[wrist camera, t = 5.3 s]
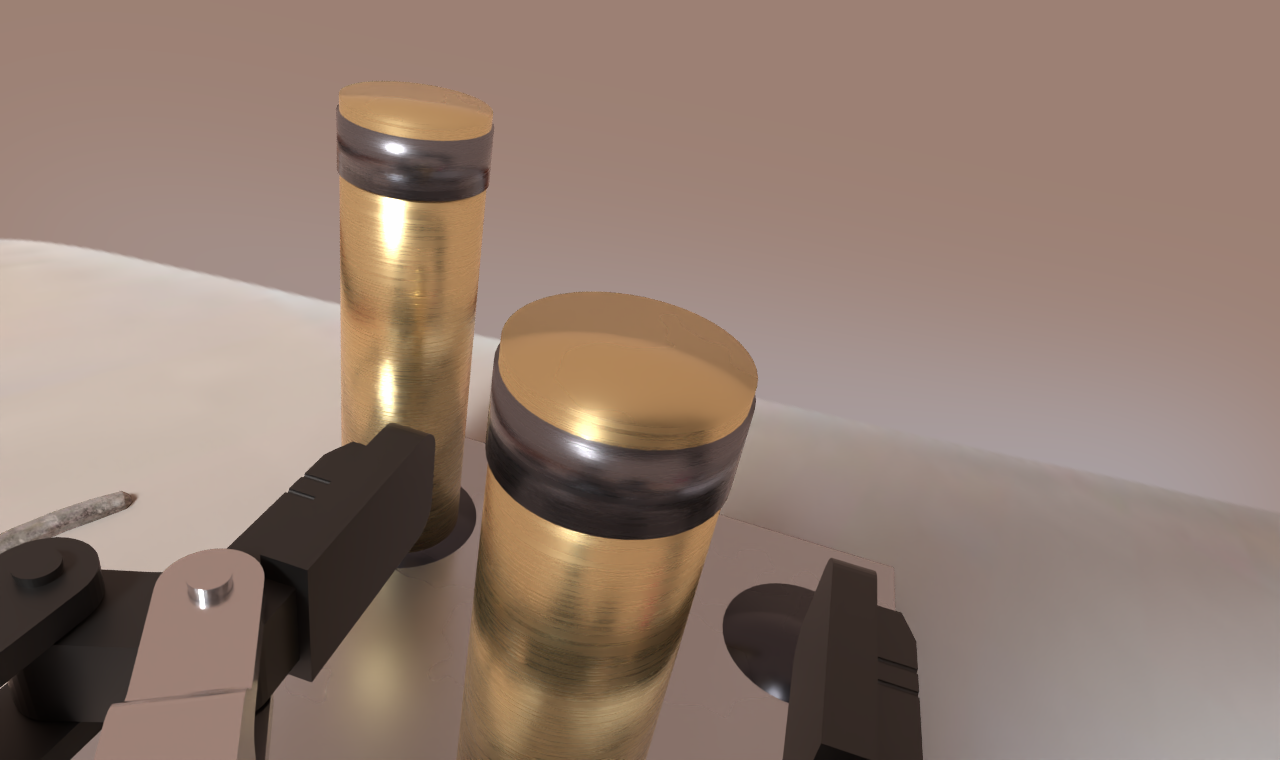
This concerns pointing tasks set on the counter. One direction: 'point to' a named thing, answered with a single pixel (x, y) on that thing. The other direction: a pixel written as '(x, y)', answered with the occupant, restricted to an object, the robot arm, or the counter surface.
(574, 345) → the loose brass leg
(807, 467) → the counter surface
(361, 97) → the fixed brass leg
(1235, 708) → the counter surface
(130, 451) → the counter surface
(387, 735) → the flange plate
